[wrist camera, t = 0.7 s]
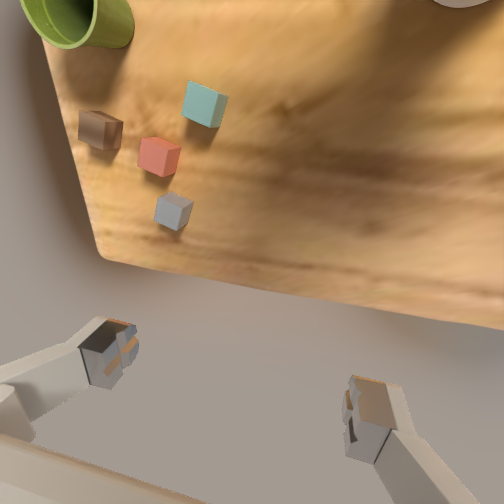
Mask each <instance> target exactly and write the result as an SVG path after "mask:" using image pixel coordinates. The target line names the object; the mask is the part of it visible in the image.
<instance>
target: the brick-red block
mask: <svg viewBox="0 0 504 504" xmlns="http://www.w3.org/2000/svg"><path fill="white" fill-rule="evenodd" d="M180 150H181V147H179V146H177V145H175V144H172V143H170V142H168V141H166V140H163V139H161V138H159V137H149V138H142V139H141V146H140V152H139V159H138V167H140V168H142V169H145V170H147V171H149V172H151V173H154V174H156V175H158V176H160V177H165V176H168V175H171V174H173V173H175V172H176V168H177V163H178V159H179V154H180Z"/></svg>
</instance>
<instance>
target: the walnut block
mask: <svg viewBox="0 0 504 504" xmlns="http://www.w3.org/2000/svg"><path fill="white" fill-rule="evenodd" d="M122 130H123V121H121V120H118V119H116V118H114V117H112V116H109V115H107V114H105V113H103V112H100V111H82V110H79V128H78V140H80V141H82V142H85V143H87V144H89V145H91V146H94V147H96V148H98V149H100V150H102V151H103V150H111V149H118V148H121V139H122Z"/></svg>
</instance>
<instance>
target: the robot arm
mask: <svg viewBox="0 0 504 504" xmlns="http://www.w3.org/2000/svg"><path fill="white" fill-rule="evenodd" d="M434 1H435V2H437V3H439V4H441V5H444V6H448V7H454V8H464V7H470V6H475V5H478V4H481V3H484V2H486V1H488V0H434ZM136 333H137V329H136V325H133V324H130V323H126V322H122V321H119V320H115V319H111V318H107V317H103V316H97V317H95V318H94V319H93V320H91V321H90V322H89V323H88V324H87V325H85V326H84V327H83V328H82V329H81V330H80V331H78V332H77V333H76V334H75V335H74V336H72V337H71V338H70V339H69V340H68V341H67V342H65V343H64V344H57V345H54V346H52V347H49V348H47V349H44V350H41V351H39V352H36V353H34V354H31V355H28V356H26V357H23V358H21V359H18V360H15V361H13V362H10V363H8V364H5V365H2V366H0V504H209V503H207V502H204V501H201V500H198V499H194V498H192V497H189V496H186V495H183V494H180V493H177V492H174V491H171V490H168V489H165V488H162V487H159V486H156V485H153V484H150V483H147V482H144V481H141V480H138V479H135V478H133V477H129V476H127V475H124V474H121V473H118V472H115V471H112V470H109V469H106V468H103V467H100V466H97V465H94V464H91V463H88V462H85V461H82V460H79V459H76V458H73V457H70V456H67V455H64V454H61V453H58V452H55V451H52V450H49V449H47V448H44V447H41V446H38V445H35V444H31V442H32V440H33V439H34V438H35V436H36V432H35V430H34V428H33V426H32V424H31V422H32V421H34V420H36V419H37V418H39V417H40V416H42V415H43V414H45V413H47V412H48V411H50V410H52V409H53V408H55V407H57V406H58V405H60V404H61V403H63V402H65V401H66V400H68V399H70V398H71V397H73V396H74V395H76V394H77V393H79V392H81V391H83V390H84V389H86V388H87V387H89V386H90V385H93V386H97V387H101V388H106V389H110V390H111V389H112V388H113V386H114V385H115V384H116V383H117V381H118V380H119V379H120V377H121V376H122V375H123V369H124V368H126V367H127V366H129V365H131V364H132V362H133V361H134V359H135V358H136V355H137V353H138V349H139V342H138V340H137V338H136V337H135V336H134V335H135V334H136ZM342 417H343V422H344V423H345V425H346V426H347V427H346V429H345V432H344V443H345V454H346V456H347V457H350V458H354V459H357V460H360V461H363V462H366V463H370V464H373V465H374V468H375V470H376V472H377V473H378V475H379V477H380V479H381V480H382V482H383V484H384V486H385V488H386V489H387V491H388V493H389V495H390V496H391V498H392V500H393V502H394V503H395V504H480V503H479V502H478V501H477V499H476V498H475V497H474V496H473V495H472V494H471V492H470V491H469V490H468V489H467V488H466V487H465V486H464V485H463V483H462V482H461V481H460V480H459V479H458V478H457V476H456V475H455V474H454V473H453V472H452V471H451V470H450V468H449V467H448V466H447V465H446V464H445V463H444V461H443V460H442V459H441V458H440V457H439V456H438V455H437V454H436V452H435V451H434V450H433V449H432V448H431V447H430V445H429V444H428V443H427V442H426V441H425V440H424V439H423V438H422V437H419V436H417V434H416V431H415V428H414V424H413V421H412V418H411V415H410V412H409V409H408V406H407V403H406V399H405V396H404V394H403V390H402V388H401V387H400V386H399V385H395V384H390V383H386V382H381V381H377V380H373V379H368V378H364V377H359V376H354V375H352V376H351V377H350V380H349V390H347V391H345V394H344V398H343V404H342Z"/></svg>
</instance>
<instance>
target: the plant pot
mask: <svg viewBox="0 0 504 504" xmlns="http://www.w3.org/2000/svg"><path fill="white" fill-rule="evenodd" d="M20 2H21V5H22V8H23V10H24V12H25V14H26V16H27V18H28V20H29V21H30V23H31V24H32V26H33V27H34V29H35V30H36V31H37V32H38V34H39V35H40V36H41V37H42V38H43V39H44V40H46V41H47V42H48V43H50V44H51V45H53V46H55V47H58V48H61V49H75V48H78V47H80V46H87V45H88V46H97V47H107V48H121V47H124V46H126V45H127V44H128V43H129V42H130V40H131V39H132V36H133V33H134V19H133V15H132V12H131V8H130V6H129V4H128V3H127V1H126V0H20Z"/></svg>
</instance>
